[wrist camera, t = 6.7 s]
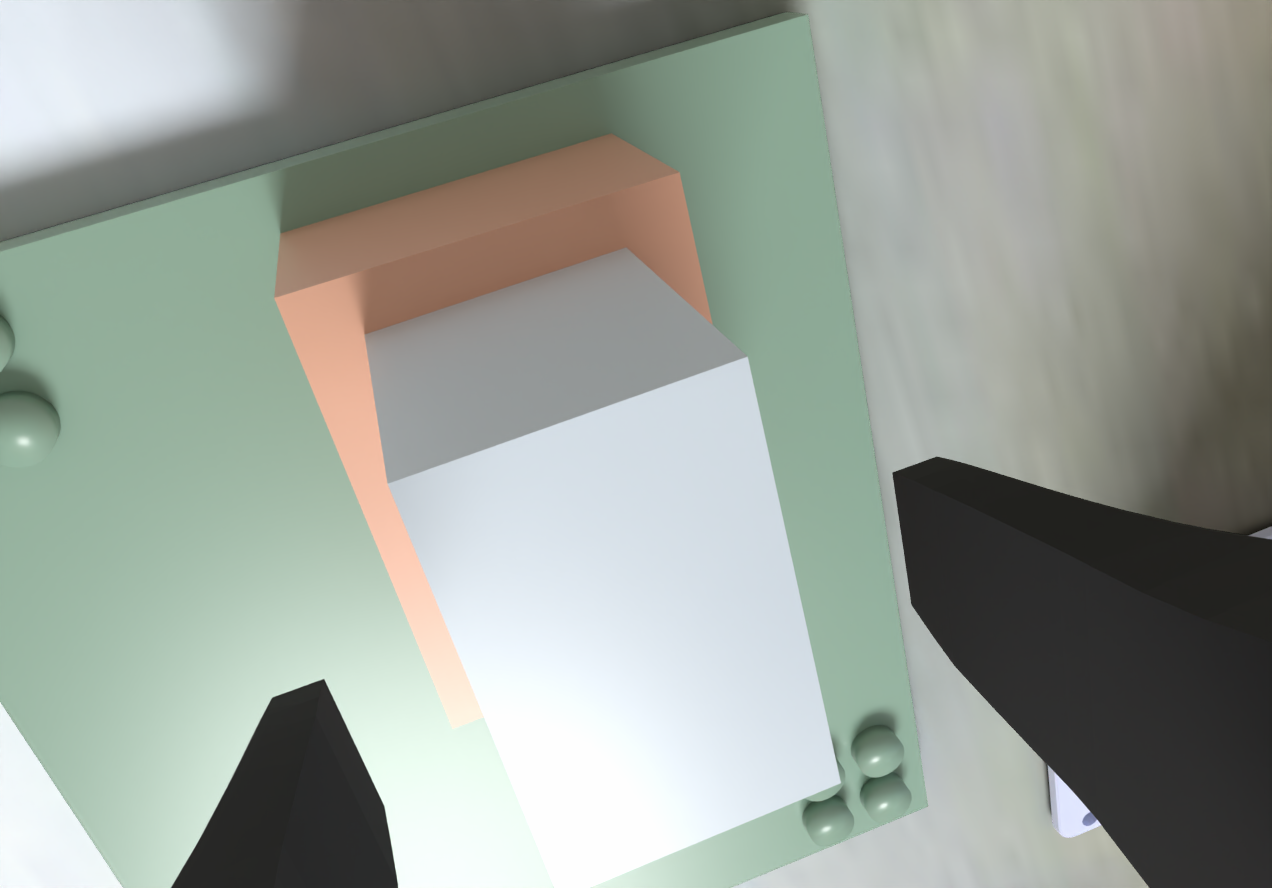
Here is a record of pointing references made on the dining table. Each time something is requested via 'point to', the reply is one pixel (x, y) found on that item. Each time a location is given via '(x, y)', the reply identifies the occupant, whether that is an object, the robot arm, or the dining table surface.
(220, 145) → the dining table surface
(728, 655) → the white brick
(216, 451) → the building board
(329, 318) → the terracotta brick
